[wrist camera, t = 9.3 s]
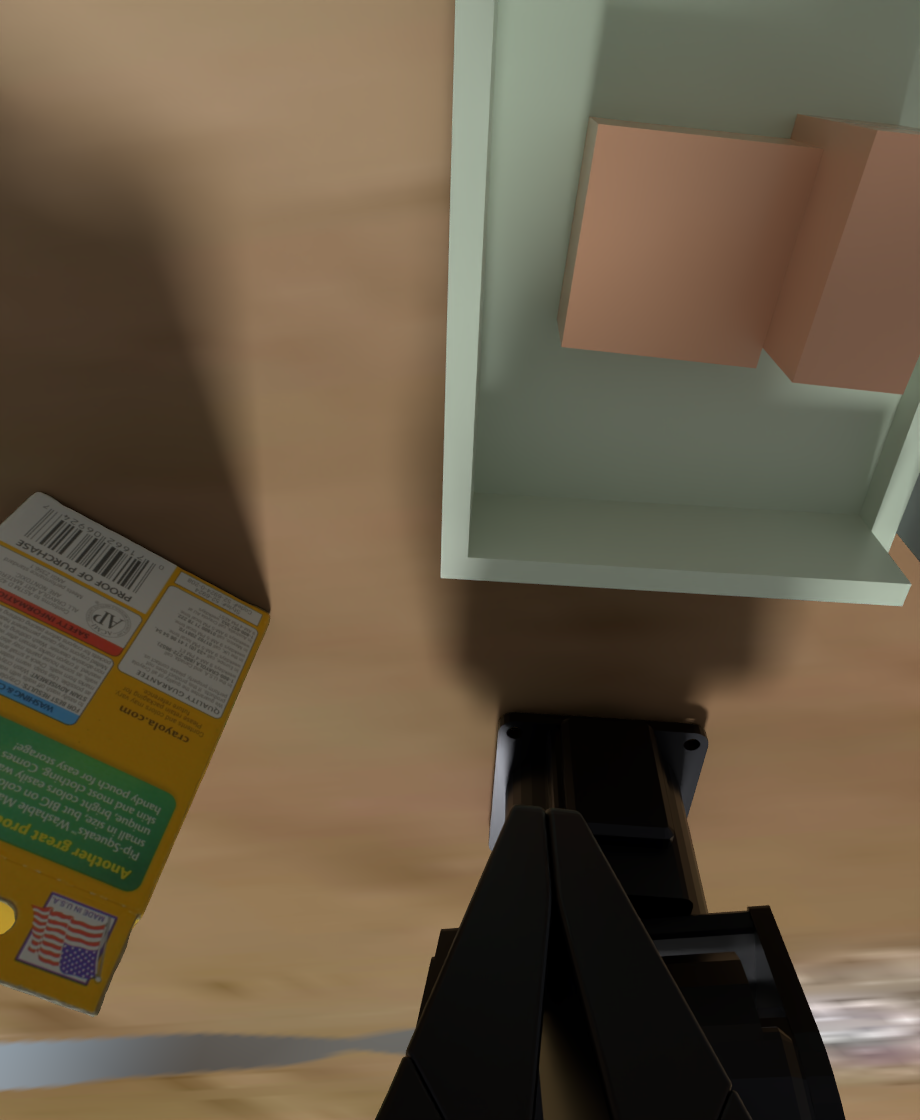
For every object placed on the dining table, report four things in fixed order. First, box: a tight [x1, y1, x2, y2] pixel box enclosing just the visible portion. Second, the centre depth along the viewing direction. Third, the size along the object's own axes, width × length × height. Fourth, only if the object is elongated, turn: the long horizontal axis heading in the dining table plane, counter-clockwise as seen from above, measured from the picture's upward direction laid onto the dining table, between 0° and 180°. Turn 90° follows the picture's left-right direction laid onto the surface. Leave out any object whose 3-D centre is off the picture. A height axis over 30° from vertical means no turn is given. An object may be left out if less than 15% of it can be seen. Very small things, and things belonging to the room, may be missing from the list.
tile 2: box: [557, 117, 824, 368], centre depth 16 cm, size 4×4×2 cm
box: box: [441, 0, 920, 606], centre depth 16 cm, size 13×11×4 cm
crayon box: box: [0, 492, 270, 1017], centre depth 18 cm, size 7×3×12 cm, turn 56°
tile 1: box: [763, 114, 920, 395], centre depth 15 cm, size 4×4×2 cm
